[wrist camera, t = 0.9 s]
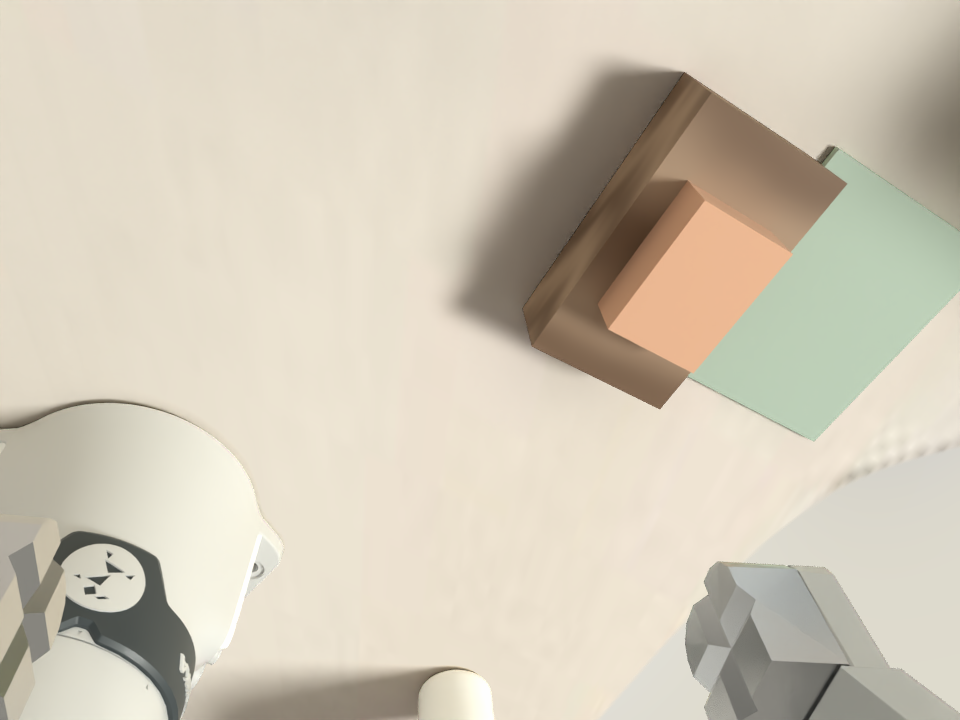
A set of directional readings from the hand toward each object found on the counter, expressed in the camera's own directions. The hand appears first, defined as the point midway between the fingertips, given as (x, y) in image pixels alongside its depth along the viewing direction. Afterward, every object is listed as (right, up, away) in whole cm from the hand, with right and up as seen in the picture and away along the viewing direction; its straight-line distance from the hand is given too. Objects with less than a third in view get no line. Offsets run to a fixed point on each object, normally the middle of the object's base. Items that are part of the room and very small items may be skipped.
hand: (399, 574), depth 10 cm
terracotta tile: (+11, +7, +28) cm, 31 cm away
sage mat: (+20, +6, +34) cm, 40 cm away
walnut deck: (+10, +9, +31) cm, 34 cm away
